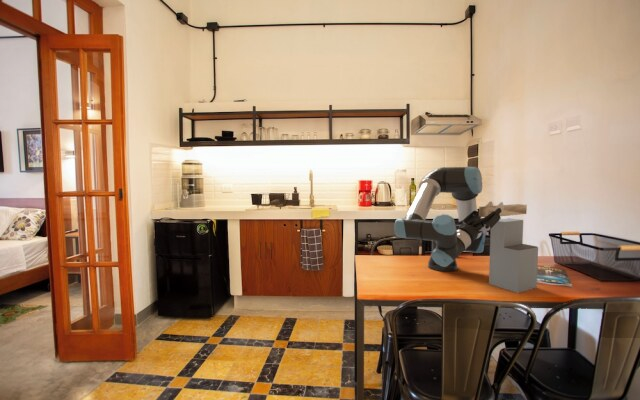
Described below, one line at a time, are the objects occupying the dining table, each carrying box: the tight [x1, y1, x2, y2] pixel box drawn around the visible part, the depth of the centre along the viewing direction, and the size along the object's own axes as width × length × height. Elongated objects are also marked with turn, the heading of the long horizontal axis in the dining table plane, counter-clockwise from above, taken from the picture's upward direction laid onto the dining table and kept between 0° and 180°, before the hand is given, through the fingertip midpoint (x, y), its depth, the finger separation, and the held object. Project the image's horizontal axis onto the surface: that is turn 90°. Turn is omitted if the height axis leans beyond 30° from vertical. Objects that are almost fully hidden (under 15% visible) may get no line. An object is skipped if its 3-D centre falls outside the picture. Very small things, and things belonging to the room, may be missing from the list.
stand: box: [488, 217, 539, 294], centre depth 149 cm, size 14×14×30 cm
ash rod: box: [478, 203, 528, 218], centre depth 138 cm, size 4×26×4 cm, turn 118°
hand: (497, 204), depth 135 cm, fingers closed on ash rod, 4 cm apart
